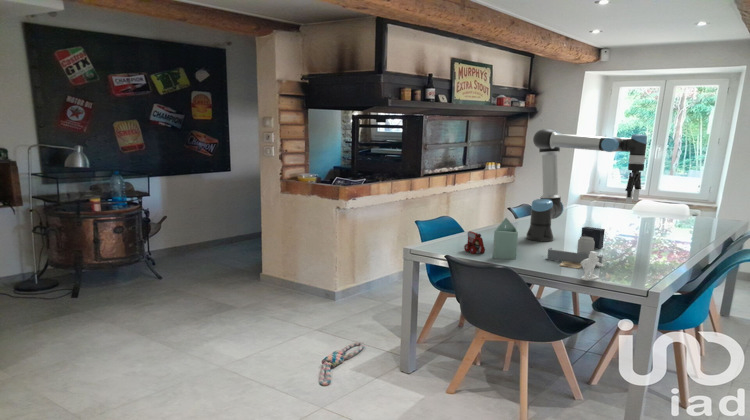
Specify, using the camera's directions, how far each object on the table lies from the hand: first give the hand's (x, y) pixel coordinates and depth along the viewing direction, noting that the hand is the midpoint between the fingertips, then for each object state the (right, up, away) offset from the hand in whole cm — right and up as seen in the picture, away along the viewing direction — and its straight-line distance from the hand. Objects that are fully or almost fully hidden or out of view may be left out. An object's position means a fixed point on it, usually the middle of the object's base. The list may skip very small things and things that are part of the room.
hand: (632, 202), depth 267 cm
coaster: (-48, -31, -35) cm, 67 cm away
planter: (-73, -28, -22) cm, 82 cm away
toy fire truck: (-89, -27, -13) cm, 94 cm away
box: (-19, -25, +7) cm, 32 cm away
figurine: (-48, -34, -56) cm, 81 cm away
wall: (-44, -30, -29) cm, 60 cm away
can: (-38, -30, -27) cm, 55 cm away
